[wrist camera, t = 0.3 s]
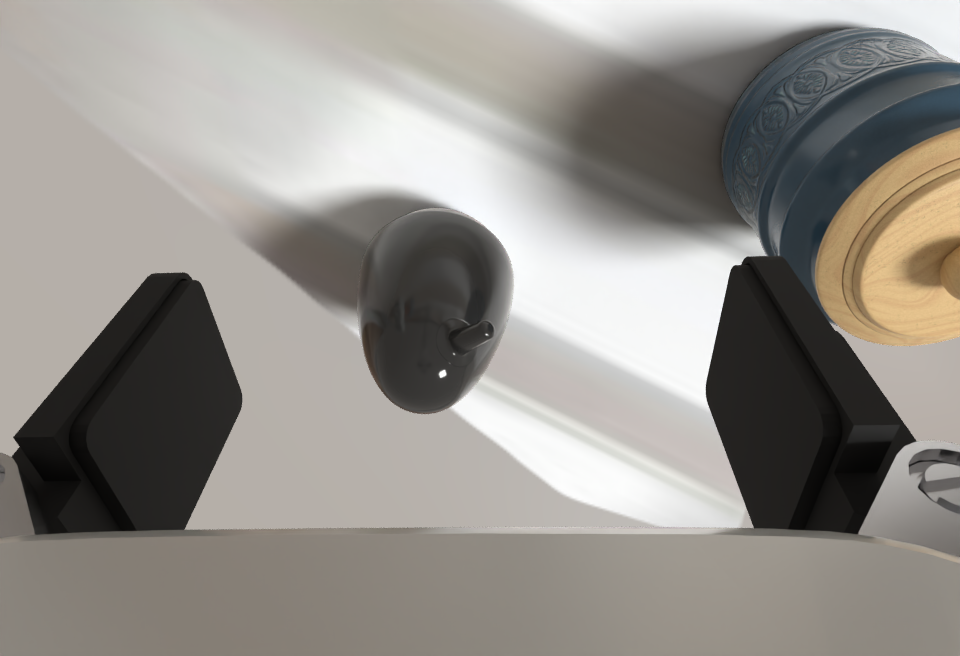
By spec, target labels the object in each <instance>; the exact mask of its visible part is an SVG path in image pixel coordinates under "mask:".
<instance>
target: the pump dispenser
mask: <svg viewBox="0 0 960 656" xmlns="http://www.w3.org/2000/svg"><path fill="white" fill-rule="evenodd" d="M513 291H514V276H513V269H512V264H511V261H510V258H509V256H508V254H507V252H506V250H505V248H504V247H503V245H502V244H501V242H500V241H499V240H498V239H497V238H496V236H495V235H494V234H492V233H491V232H490V231H489V230H488V229H487V228H486V227H485V226H484V225H482V224H481V223H480V222H478V221H477V220H475V219H474V218H472V217H470V216H469V215H466V214H464V213H462V212H459V211H455V210H451V209H445V208H427V209H421V210H417V211H414V212H411V213H409V214H406V215H404V216H402V217H399V218H397V219H395V220H393V221H392V222H390V223H389V224H387V225H386V226H384V227H383V228H382V229H381V230H380V231H379V232H378V233H377V234H376V235H375V236H374V238H373V239H372V240H371V242H370V243H369V245H368V247H367V249H366V251H365V254H364V257H363V260H362V263H361V267H360V272H359V280H358V293H357V315H358V326H359V333H360V339H361V344H362V347H363V352H364V356H365V359H366V362H367V364H368V367H369V370H370V372H371V374H372V376H373V378H374V380H375V382H376V384H377V385H378V387H379V388H380V389H381V391H382V392H383V394H384V395H385V396H386V397H387V398H388V399H389V400H390V401H391V402H392V403H394V404H395V405H396V406H398V407H400V408H402V409H404V410H406V411H409V412H412V413H417V414H431V413H436V412H440V411H443V410H445V409H448V408H450V407H451V406H453V405H455V404H456V403H458V402H459V401H460V400H461V399H463V398H464V397H465V396H466V395H467V394H468V393H469V392H470V391H471V390H472V389H473V388H474V387H475V385H476V384H477V383H478V381H479V380H480V379H481V377H482V376H483V374H484V373H485V371H486V369H487V368H488V366H489V364H490V362H491V360H492V358H493V356H494V354H495V352H496V350H497V348H498V346H499V343H500V341H501V339H502V336H503V334H504V331H505V328H506V325H507V321H508V318H509V313H510V309H511V305H512V299H513Z"/></svg>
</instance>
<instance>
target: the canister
mask: <svg viewBox="0 0 960 656" xmlns="http://www.w3.org/2000/svg"><path fill="white" fill-rule="evenodd" d="M721 163H722V171H723V178H724V183H725V187H726V190H727V193H728V196H729V198H730V200H731V202H732V203H733V205H734V207H735V208H736V210H737V211H738V213H739V214H740V216H741V217H742V218H743V219H744V220H745V221H746V222H747V223H748V224H749V225H750V226H751V227H752V228H753V230H754V231H755V233H756V234H757V236H758V237H759V239H760V242H761V245H762V248H763V250H764V252H765V254H766V256H782V257H784V258H785V259H786V261H787V262H788V264H789V265H790V267H791V268H792V270H793V271H794V272H795V274H796V275H797V277H798V278H799V280H800V281H801V283H802V284H803V285H804V287H805V288H806V290H807V291H808V293H809V294H810V295H811V297H812V298H813V300H814V301H815V303H816V304H817V306H818V307H819V308H820V310H821V311H822V313H823V314H824V316H825V317H826V319H827V320H828V321H829V323H831V324H834V325H836V326H839V327H840V328H842V329H843V330H845V331H846V332H848V333H850V334H851V335H853V336H855V337H858V338H860V339H863V340H866V341H869V342H873V343H877V344H883V345H892V346H915V345H925V344H931V343H937V342H942V341H946V340H950V339H953V338H957V337H960V63H959V62H956V61H954V60H952V59H950V58H948V57H946V56H943V55H941V54H939V53H938V52H937V51H936V50H935V49H934V48H932V47H931V46H930V45H928V44H926V43H925V42H923V41H921V40H919V39H917V38H914V37H912V36H909V35H907V34H904V33H901V32H898V31H894V30H889V29H881V28H850V29H842V30H837V31H832V32H828V33H825V34H821V35H819V36H816V37H813V38H811V39H808V40H806V41H804V42H802V43H800V44H798V45H796V46H794V47H793V48H791V49H789V50H788V51H786V52H785V53H783V54H782V55H780V56H779V57H778V58H776V59H775V60H774V61H772V62H771V63H770V64H769V65H768V66H767V67H765V68H764V69H763V70H762V71H761V72H760V73H759V74H758V75H757V76H756V78H755V79H754V80H753V81H752V82H751V83H750V84H749V86H748V87H747V88H746V90H745V91H744V92H743V94H742V95H741V97H740V98H739V100H738V102H737V103H736V105H735V107H734V109H733V111H732V113H731V115H730V118H729V120H728V123H727V125H726V128H725V132H724V136H723V141H722V149H721Z"/></svg>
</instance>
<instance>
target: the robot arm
mask: <svg viewBox="0 0 960 656" xmlns="http://www.w3.org/2000/svg"><path fill="white" fill-rule="evenodd" d="M706 398H707V402H708V405H709V408H710V411H711V413H712V416H713V419H714V422H715V424H716V427H717V430H718V432H719V435H720V438H721V440H722V443H723V446H724V448H725V451H726V454H727V457H728V459H729V462H730V465H731V467H732V470H733V473H734V475H735V478H736V481H737V483H738V486H739V489H740V492H741V494H742V497H743V500H744V502H745V505H746V508H747V510H748V513H749V516H750V518H751V521H752V524H753V526H754V528H695V527H466V528H465V527H463V528H462V527H453V528H306V529H228V530H227V529H225V530H224V529H221V530H184V529H185V527H186V525H187V523H188V521H189V519H190V517H191V514H192V512H193V510H194V508H195V506H196V504H197V501H198V500H199V497H200V495H201V493H202V491H203V489H204V487H205V485H206V483H207V480H208V478H209V476H210V474H211V472H212V470H213V468H214V466H215V464H216V461H217V459H218V457H219V455H220V453H221V451H222V449H223V447H224V444H225V442H226V440H227V438H228V436H229V434H230V432H231V430H232V427H233V425H234V423H235V421H236V419H237V417H238V415H239V412H240V410H241V407H242V393H241V389H240V386H239V384H238V381H237V379H236V376H235V373H234V370H233V367H232V365H231V362H230V359H229V357H228V354H227V351H226V349H225V346H224V343H223V340H222V338H221V335H220V332H219V330H218V327H217V324H216V321H215V319H214V316H213V313H212V311H211V308H210V305H209V303H208V300H207V297H206V295H205V292H204V289H203V287H202V285H201V283H200V282H199V281H196V280H192V278H191V277H190V276H189V275H188V274H186V273H155V274H151V275H150V276H148V277H147V278H146V280H145V281H144V282H143V283H142V284H141V286H140V287H139V288H138V289H137V290H136V292H135V293H134V294H133V295H132V296H131V298H130V299H129V300H128V301H127V302H126V303H125V305H124V306H123V307H122V308H121V310H120V311H119V312H118V313H117V314H116V315H115V317H114V318H113V319H112V320H111V321H110V323H109V324H108V325H107V326H106V327H105V329H104V330H103V331H102V332H101V333H100V335H99V336H98V337H97V338H96V339H95V341H94V342H93V343H92V344H91V345H90V346H89V348H88V349H87V350H86V351H85V352H84V354H83V355H82V356H81V357H80V358H79V360H78V361H77V362H76V363H75V364H74V366H73V367H72V368H71V369H70V370H69V372H68V373H67V374H66V375H65V377H63V379H62V380H61V381H60V382H59V383H58V385H57V386H56V387H55V388H54V389H53V391H52V392H51V393H50V394H49V395H48V397H47V398H46V399H45V400H44V401H43V403H42V404H41V405H40V406H39V407H38V408H37V410H36V411H35V412H34V413H33V414H32V416H31V417H30V418H29V419H28V420H27V422H26V423H25V424H24V425H23V427H22V428H21V429H20V430H19V431H18V433H17V434H16V435H15V436H14V437H13V438H14V439H15V441H16V442H17V443H18V445H19V446H20V447H19V448H18V450H17V451H16V452H15V453H14V455H13V456H12V457H10V456H8V455H6V454H3V453H0V656H960V445H958V444H955V443H950V442H944V441H937V440H929V441H928V440H927V441H916V440H915V439H914V437H913V436H912V434H911V433H910V431H909V430H908V428H907V427H906V426H905V424H904V423H903V421H902V420H901V418H900V417H899V416H898V414H897V413H896V411H895V410H894V408H893V407H892V406H891V404H890V403H889V401H888V400H887V398H886V397H885V396H884V394H883V393H882V391H881V390H880V388H879V387H878V386H877V384H876V383H875V381H874V380H873V379H872V377H871V376H870V374H869V373H868V371H867V370H866V369H865V367H864V366H863V364H862V363H861V361H860V360H859V359H858V357H857V356H856V354H855V353H854V351H853V350H852V349H851V347H850V346H849V344H848V343H847V341H846V340H845V339H844V337H842V335H841V334H840V333H838V332H837V331H835V330H834V329H833V327H832V326H831V324H830V323H829V321H828V320H827V319H826V317H825V316H824V314H823V313H822V311H821V310H820V308H819V307H818V306H817V304H816V303H815V301H814V300H813V298H812V297H811V295H810V294H809V293H808V291H807V290H806V288H805V287H804V285H803V284H802V283H801V281H800V280H799V278H798V277H797V275H796V274H795V272H794V271H793V270H792V268H791V267H790V265H789V264H788V262H787V261H786V259H785V258H784V257H782V256H755V257H746V258H745V259H744V260H743V262H742V264H741V265H735V266H733V267H732V269H731V272H730V275H729V280H728V285H727V289H726V294H725V298H724V303H723V308H722V312H721V317H720V322H719V326H718V331H717V335H716V340H715V345H714V349H713V354H712V359H711V363H710V368H709V372H708V377H707V382H706Z"/></svg>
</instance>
